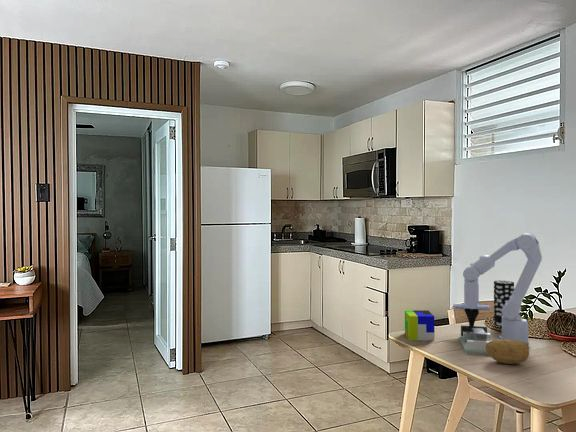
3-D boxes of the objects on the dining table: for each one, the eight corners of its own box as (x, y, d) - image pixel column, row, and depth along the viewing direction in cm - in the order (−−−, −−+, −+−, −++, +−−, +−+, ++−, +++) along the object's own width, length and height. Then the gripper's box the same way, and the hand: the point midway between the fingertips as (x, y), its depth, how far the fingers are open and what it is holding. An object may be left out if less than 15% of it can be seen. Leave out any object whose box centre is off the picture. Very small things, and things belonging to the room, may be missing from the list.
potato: (482, 357, 163) (482, 335, 163) (525, 359, 160) (525, 337, 160) (488, 366, 154) (488, 343, 154) (533, 369, 151) (533, 346, 150)
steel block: (482, 342, 177) (482, 328, 177) (486, 348, 169) (486, 334, 169) (471, 341, 178) (471, 328, 178) (475, 348, 170) (475, 333, 170)
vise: (490, 340, 182) (490, 331, 182) (500, 355, 164) (500, 344, 164) (458, 339, 185) (458, 329, 184) (465, 353, 167) (465, 342, 167)
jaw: (486, 337, 184) (486, 326, 184) (490, 343, 176) (490, 332, 176) (460, 335, 186) (460, 325, 186) (463, 341, 178) (463, 330, 178)
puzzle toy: (434, 340, 183) (434, 316, 183) (409, 340, 184) (409, 316, 184) (428, 333, 193) (428, 310, 193) (404, 333, 194) (404, 310, 194)
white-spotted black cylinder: (496, 328, 200) (496, 283, 199) (491, 323, 208) (491, 280, 207) (516, 328, 198) (516, 283, 198) (510, 323, 207) (510, 280, 206)
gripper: (454, 296, 188) (454, 328, 188) (491, 297, 184) (491, 330, 185) (452, 292, 195) (452, 323, 195) (488, 294, 191) (488, 325, 192)
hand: (471, 326), depth 190 cm, fingers closed
